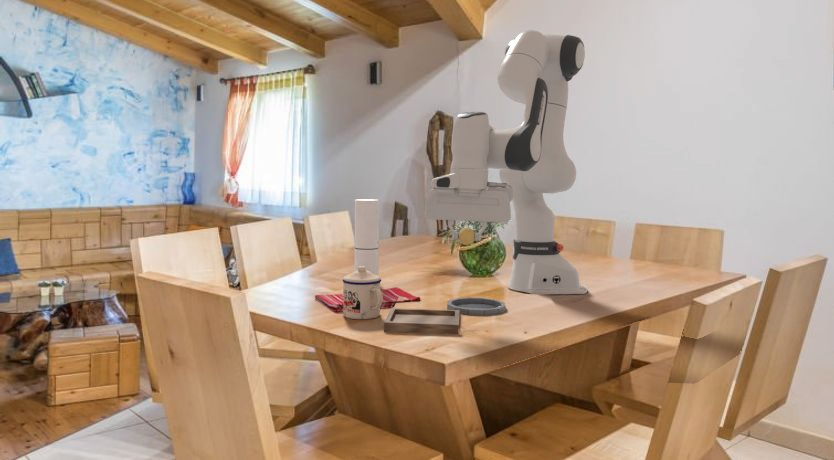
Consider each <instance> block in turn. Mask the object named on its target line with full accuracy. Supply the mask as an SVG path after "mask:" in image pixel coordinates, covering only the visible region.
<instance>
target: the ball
mask: <svg viewBox="0 0 834 460" xmlns="http://www.w3.org/2000/svg"><path fill="white" fill-rule="evenodd" d="M475 233H476V232H475V231H474V230H473V229H472V228H470V227H463V228H462V229H460V231H458V241H459V243H461V244H462V245H465V246H469V245H471V244H473V243H474V242H475Z"/></svg>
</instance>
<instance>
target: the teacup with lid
mask: <svg viewBox="0 0 834 460" xmlns="http://www.w3.org/2000/svg"><path fill="white" fill-rule="evenodd" d="M381 282H382V278H381V276H379V275H378V276H377V275H374V274H372V273H371V272H369V271H366V267H365V266H359V267H358V271H354V270H353V272H352V273H350V274H346V275H344V277H343V278H342V283H343V287H342V288H343V291H342V292H343V293H342V294H343V312H342V314H343V316H344V317H345V318H347V319H352V320H371V319H375V318H378V317H380V315H381V309H380V307H381V305H382V302H383V295H382V292H381V291H380V290H381Z"/></svg>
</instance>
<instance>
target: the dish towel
mask: <svg viewBox="0 0 834 460" xmlns="http://www.w3.org/2000/svg"><path fill="white" fill-rule="evenodd" d="M380 291H381V292H382V295H383V302H382V305H381V307H380V310H381V309H391V308H393V307H394V308H395V306H396V304H397V303H399V304H401V303H407V302H408V303H413V302H420V301H421V297H420V296H416V295H413V294H411V293H409V292H408V291H405V290H403V289H401V288H400V287H398V286H396V287H391V288H390V287H389V288H386V289H380ZM400 297H402V298H406V299H401V300H399V298H400ZM314 299H315V301H317V303H319V304H321V305H322V306H323V307H325V308H326V309H328V310H330V311H331V312H333V313H343V293H339V294H338V293H337V294H336V293H335V294H334V293H333V294H328V293H326V294H315V295H314Z"/></svg>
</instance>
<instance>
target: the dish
mask: <svg viewBox="0 0 834 460" xmlns="http://www.w3.org/2000/svg"><path fill="white" fill-rule="evenodd" d="M506 307H507V306H506V303H505V302H504V301H501V300H498V299H493V298H489V297H488V298H487V297H469V296H467V297H457V298H456V297H455V298H453V299H449V300H447V304H446V310H459V315H460V314H462V315H469V316H491V315H498V314H502V313H504V312H505V311H506Z"/></svg>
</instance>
